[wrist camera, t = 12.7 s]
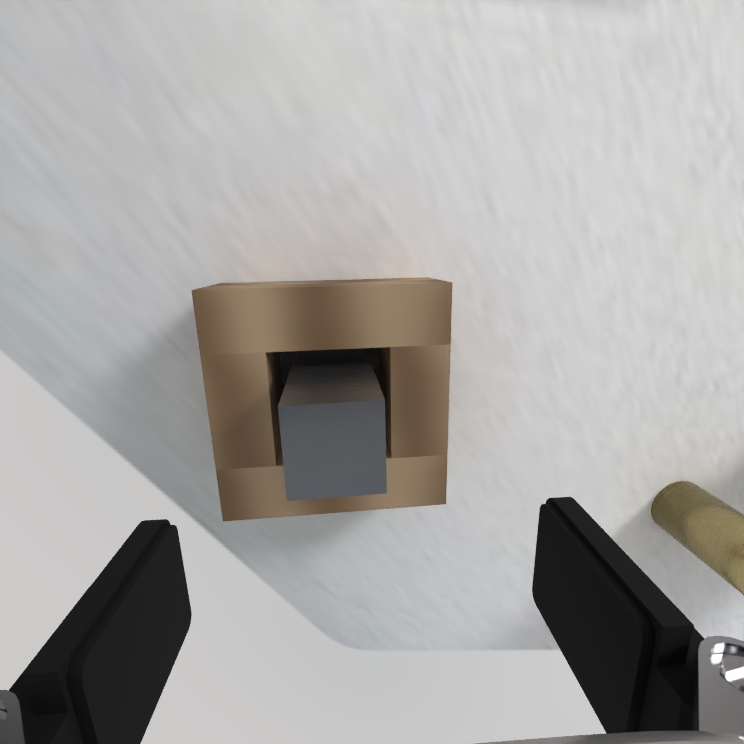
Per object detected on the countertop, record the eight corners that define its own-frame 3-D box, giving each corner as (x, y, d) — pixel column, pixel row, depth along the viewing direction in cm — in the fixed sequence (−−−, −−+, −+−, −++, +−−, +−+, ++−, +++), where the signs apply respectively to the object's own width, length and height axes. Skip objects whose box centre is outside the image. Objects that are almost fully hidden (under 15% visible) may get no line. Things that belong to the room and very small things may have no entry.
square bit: (363, 346, 25) (384, 399, 16) (366, 407, 26) (386, 493, 17) (297, 349, 25) (277, 406, 15) (302, 411, 26) (286, 501, 16)
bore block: (428, 277, 25) (452, 282, 20) (425, 461, 28) (445, 503, 23) (219, 283, 24) (191, 290, 19) (242, 474, 27) (223, 521, 22)
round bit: (707, 479, 31) (880, 581, 21) (696, 526, 32) (857, 644, 22) (656, 483, 30) (808, 588, 21) (647, 530, 31) (788, 652, 22)
